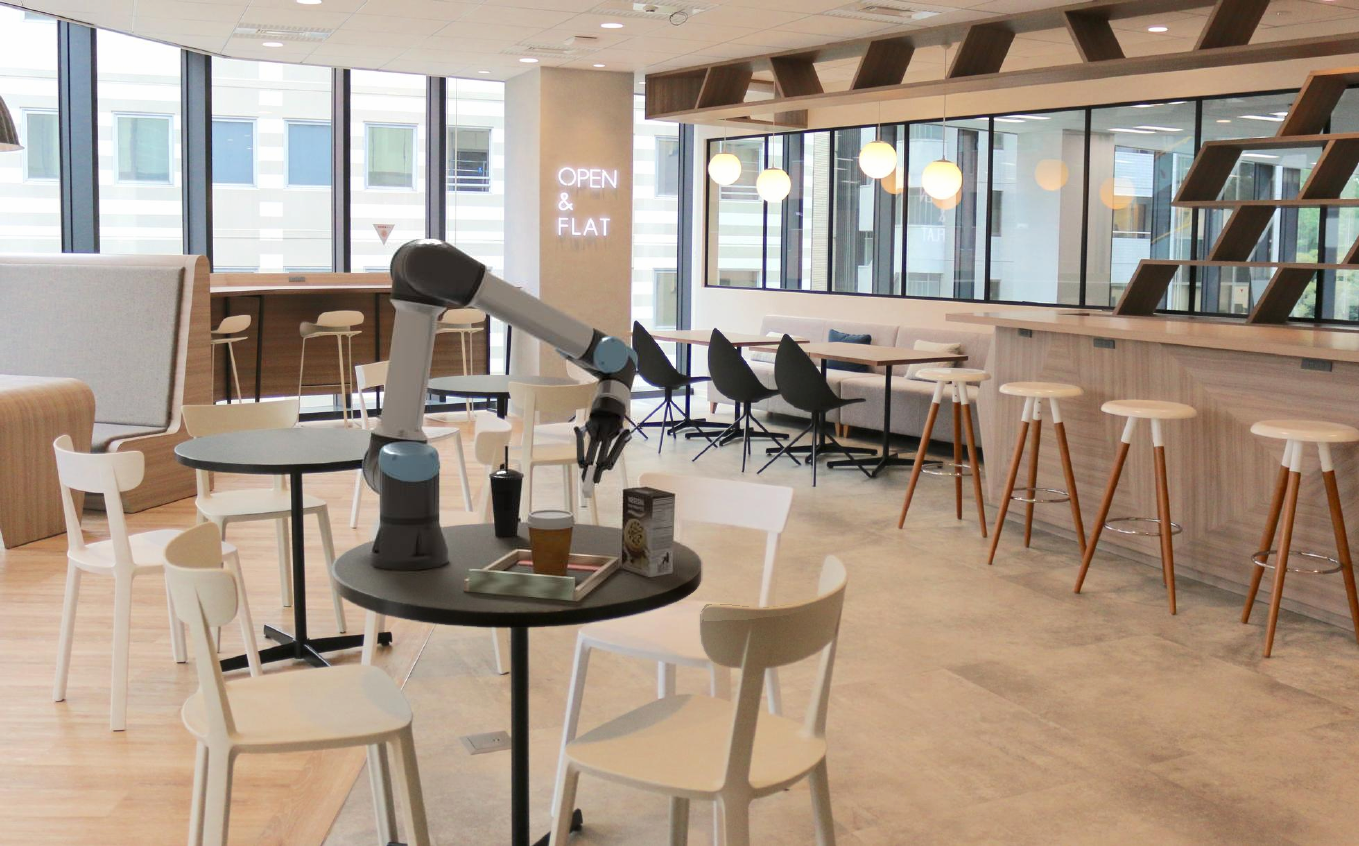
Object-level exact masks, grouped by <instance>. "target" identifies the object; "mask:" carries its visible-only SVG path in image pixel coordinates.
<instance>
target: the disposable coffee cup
mask: <svg viewBox="0 0 1359 846" xmlns="http://www.w3.org/2000/svg"><path fill="white" fill-rule="evenodd" d="M525 523H526V524H527V527H528V534H529V544H530V550H531V553H532V561H533V566H532V569H533V574H540V575H552V576H564V577H567V574H568V573H567V572H568V569H567V567H568V560H569V553H570V554H571V552H570V551H571V543H572V537H573V536H572V535H573V531H574V530H573V528H574V526H575V523H576V519H575V517H574V513H573V512H572V511H568V510H563V509H541V510H534V511H531V512H529V513H528V516H527V518H526V520H525Z"/></svg>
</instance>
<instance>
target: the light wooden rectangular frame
mask: <svg viewBox="0 0 1359 846" xmlns="http://www.w3.org/2000/svg"><path fill="white" fill-rule="evenodd" d="M523 559H526V560H532V553H531V549H530V550H529V549H517V548H516V549H514V550H513V551H512V550H511V551H510V552H508V553H507V554H506V555H504V556H502V557H500V558H499V559H497V560H495V561H493V562H492V563H490V564H489V565H487V566H485V567H484V568H482V569H479V568H477V569H476V568H470V569H468V577H466V578H465V579H464V580H463V592H470V593H482V594H492V595H505V596H506V595H507V596H517V597H525V598H527V597H529V598H531V597H532V598H538V599H539V598H541V599H549V600H561V601H574V602H579V601H580V600H581V599H583V598H584V597H585V596H586V595H588V594H589V593H590V592H591V591H592V590H594V589H595V588H596V587H597V586H598V585H600V584H601V583H602V582H603V581H605V579H607V578H608V577H609V576H611V574H614V572H615V571H617V570H618V569H619V568H620V557H619V556H617V557H616V556H607V555H606V556H605V555H596V554H595V555H593V554H583V553H582V554H581V553H571V552H570V553H569V560H568V564H569V563H576V564H588V565H601V566H603V567H601V568H600V569H599V570H598V571H594V573H593V574H591V575H590V576H589V577H587V578H585V580H584V581H582V582H581V583H580V584H579V585H577V586H576V577H574V576H552V575H540V574H534V573H526V572H525V573H524V572H516V571H515V572H514V571H513V572H512V571H504V570H505V569H507V568H508V567H509V568H510V566H512V565H514V564H515V563H516V562H517V563H518V562H519V561H521V560H523Z"/></svg>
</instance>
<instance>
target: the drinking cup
mask: <svg viewBox="0 0 1359 846" xmlns="http://www.w3.org/2000/svg"><path fill="white" fill-rule="evenodd" d="M524 477H525V474H523V473H522V472H520V471H518V470H515V469H513V468H509V446H508V445H505V446H504V468H502V469H498V470H496V471H494V472H491V473H489V475H488V478H489V479H490V480H489V481H490V490H491V491H490V492H491V502H492V515H493V522H494V523H493V524H494V535H495V537H498V538H513V537H517V536H518V530H519V528H518V527H519V521H520V520H519V519H520V511H521V510H520V509H521V499H522V498H521V497H522V488H523V478H524Z"/></svg>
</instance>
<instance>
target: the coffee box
mask: <svg viewBox="0 0 1359 846" xmlns="http://www.w3.org/2000/svg"><path fill="white" fill-rule="evenodd" d="M675 504H676V493H674V492H673V493H672V492H669V491H665V490H661V489H656V488H654V487H648V486H641V487H629V488H623V489H622V515H621V516H622V519H621V520H622V521H621V522H622V523H621V524H622V526H621V527H622V528H621V529H622V530H621V531H622V533H621V569H623V570H627V571H630V572H632V573H635V574H639V575H642V576H645V577H648V578H654V577H658V576H664V575H669V574H673V573H674V572H673V571H674V568H673V567H674V566H673V565H674V539H675V536H674V535H675V533H674V532H675V512H676V511H675V509H676V508H675V507H676V505H675Z"/></svg>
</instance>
